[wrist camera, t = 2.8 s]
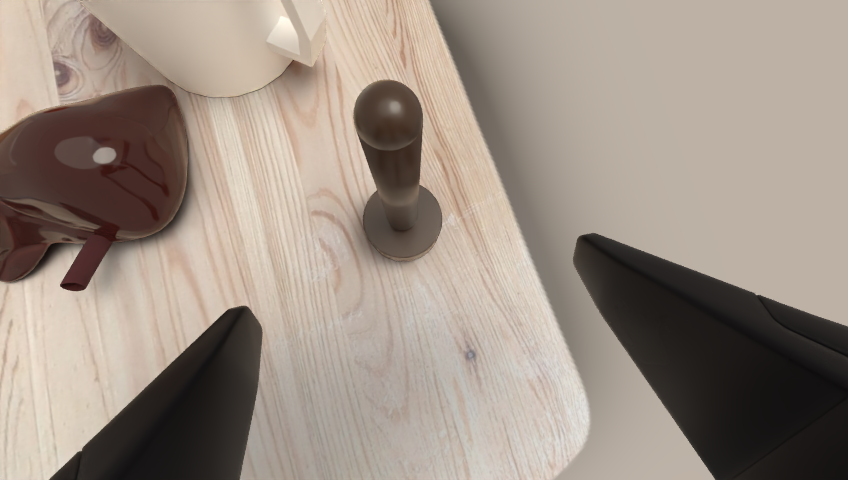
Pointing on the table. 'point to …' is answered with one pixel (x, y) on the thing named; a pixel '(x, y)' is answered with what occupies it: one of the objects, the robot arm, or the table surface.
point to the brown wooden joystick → (396, 172)
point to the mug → (217, 39)
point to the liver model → (90, 178)
